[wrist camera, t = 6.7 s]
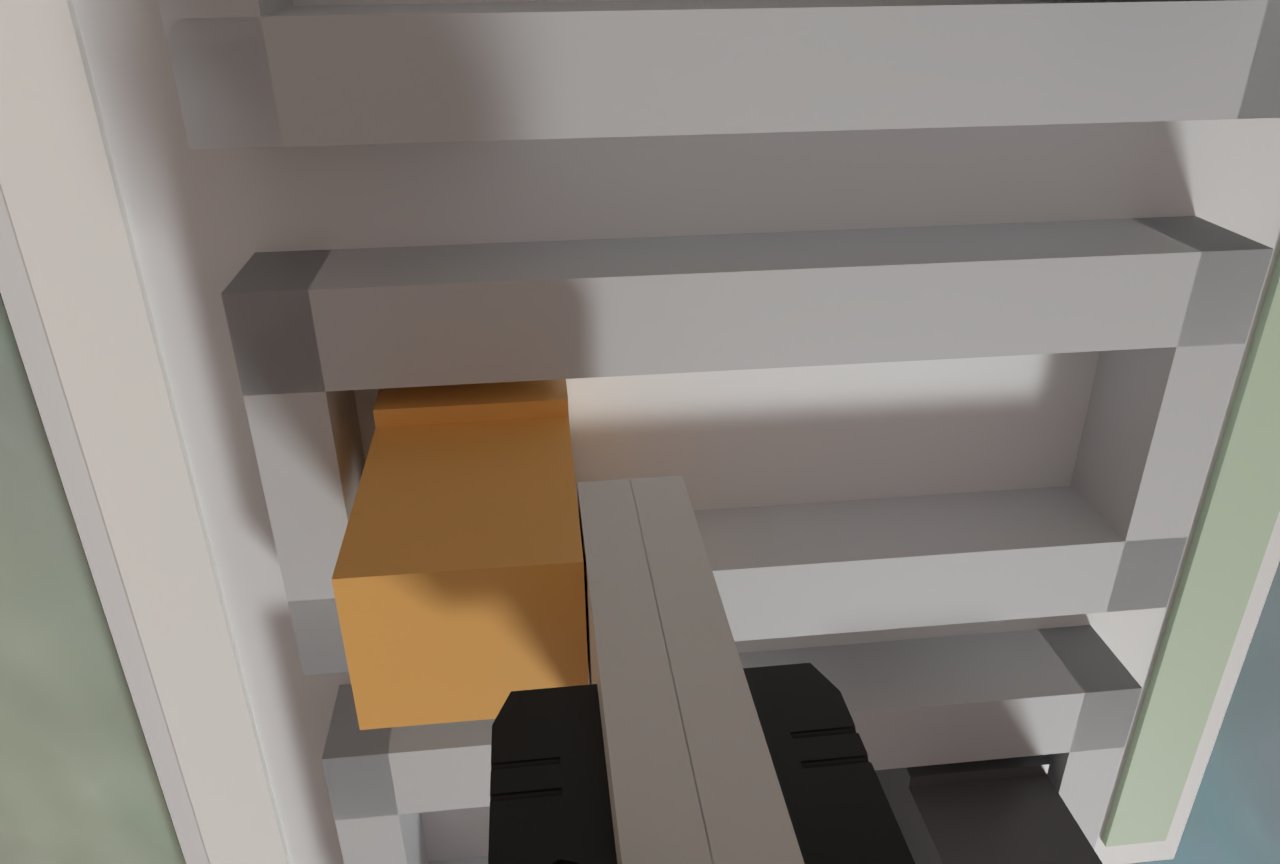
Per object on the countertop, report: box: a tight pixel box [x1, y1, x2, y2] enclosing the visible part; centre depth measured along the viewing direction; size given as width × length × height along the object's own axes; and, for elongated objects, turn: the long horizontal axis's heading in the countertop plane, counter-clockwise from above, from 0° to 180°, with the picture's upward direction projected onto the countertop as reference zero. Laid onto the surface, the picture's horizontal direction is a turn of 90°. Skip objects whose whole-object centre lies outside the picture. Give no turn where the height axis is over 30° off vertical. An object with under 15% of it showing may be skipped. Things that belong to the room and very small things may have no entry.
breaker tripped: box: [331, 379, 589, 730], centre depth 15 cm, size 3×3×6 cm
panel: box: [0, 0, 1280, 864], centre depth 18 cm, size 24×27×4 cm
